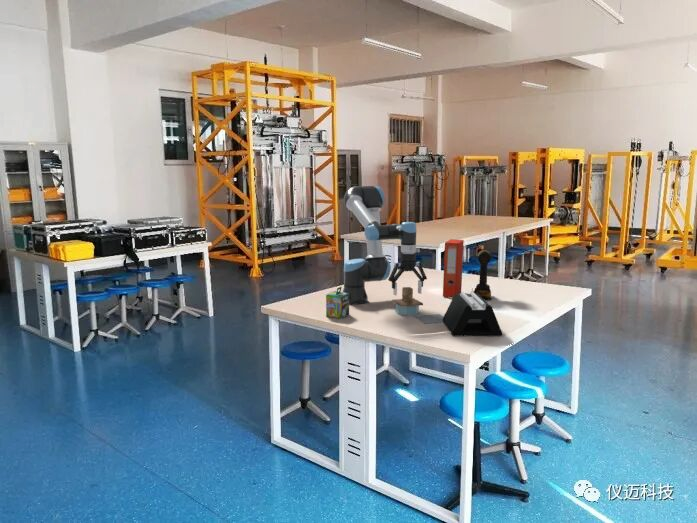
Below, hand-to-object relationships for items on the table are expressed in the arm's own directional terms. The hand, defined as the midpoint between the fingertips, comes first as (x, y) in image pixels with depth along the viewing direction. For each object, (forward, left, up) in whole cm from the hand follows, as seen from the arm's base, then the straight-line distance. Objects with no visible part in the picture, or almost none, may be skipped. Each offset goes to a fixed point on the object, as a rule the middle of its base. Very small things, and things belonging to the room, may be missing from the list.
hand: (407, 294), depth 288 cm
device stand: (+17, -35, -10) cm, 40 cm away
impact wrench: (+59, +24, -10) cm, 65 cm away
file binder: (+44, +34, -10) cm, 57 cm away
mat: (+7, -15, -10) cm, 19 cm away
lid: (0, 0, -5) cm, 5 cm away
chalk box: (-35, +7, -11) cm, 37 cm away
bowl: (0, 0, -10) cm, 10 cm away
